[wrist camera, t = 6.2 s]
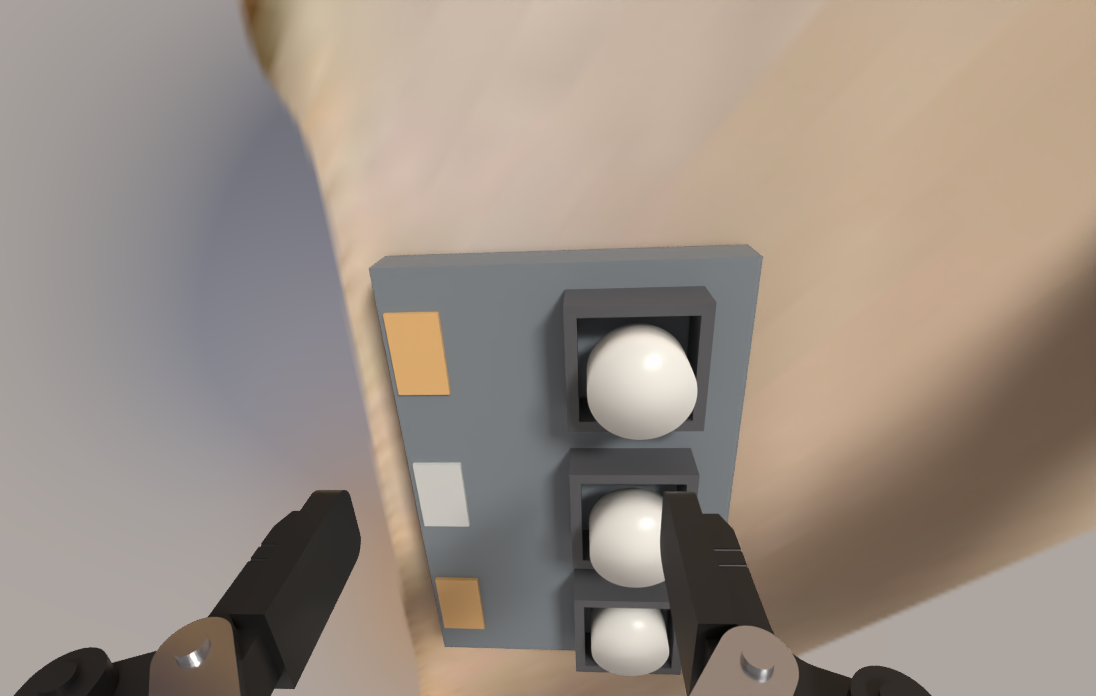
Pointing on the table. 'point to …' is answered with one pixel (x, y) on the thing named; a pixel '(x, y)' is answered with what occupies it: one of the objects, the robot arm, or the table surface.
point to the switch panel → (551, 422)
